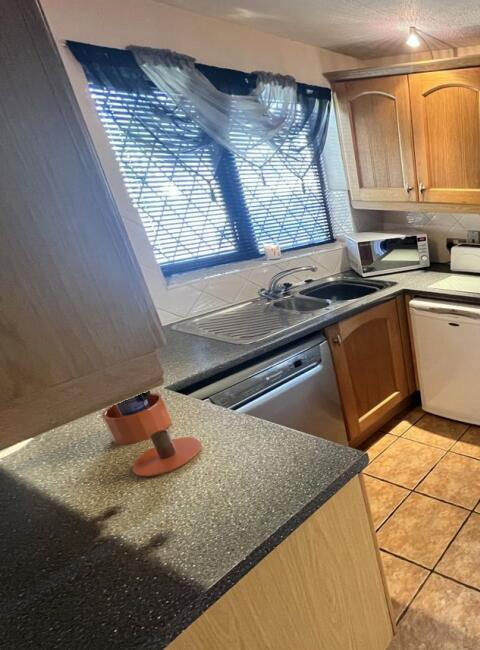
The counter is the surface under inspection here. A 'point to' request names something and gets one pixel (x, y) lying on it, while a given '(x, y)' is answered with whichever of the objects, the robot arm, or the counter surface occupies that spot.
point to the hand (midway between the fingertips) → (130, 399)
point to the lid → (166, 454)
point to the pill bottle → (132, 406)
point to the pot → (138, 421)
